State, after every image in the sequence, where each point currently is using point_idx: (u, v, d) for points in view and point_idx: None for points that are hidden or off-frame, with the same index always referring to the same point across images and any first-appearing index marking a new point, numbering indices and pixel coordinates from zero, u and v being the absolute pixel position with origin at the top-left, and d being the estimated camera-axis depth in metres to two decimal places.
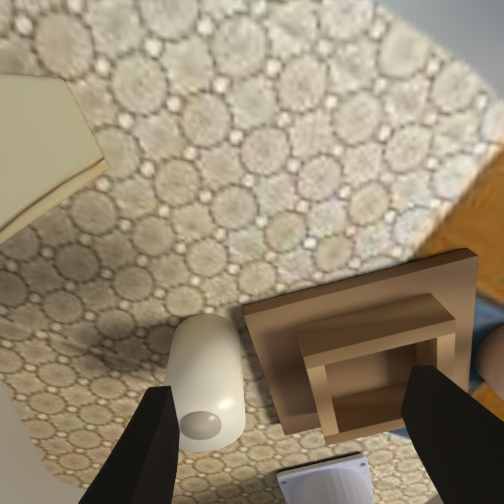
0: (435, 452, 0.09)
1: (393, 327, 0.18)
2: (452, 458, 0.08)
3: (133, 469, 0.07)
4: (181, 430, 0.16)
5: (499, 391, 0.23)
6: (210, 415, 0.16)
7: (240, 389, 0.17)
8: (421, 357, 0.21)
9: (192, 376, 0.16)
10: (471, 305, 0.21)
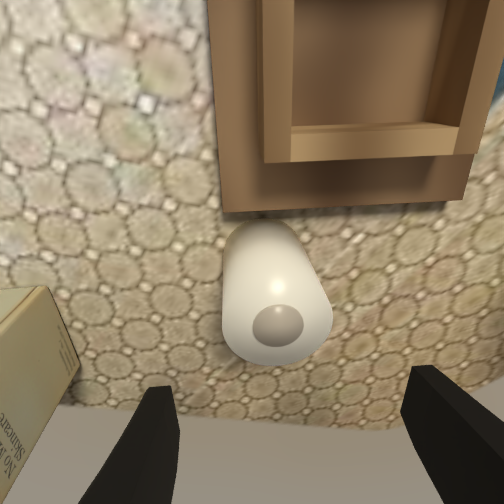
0: (435, 452, 0.09)
1: None
2: (452, 458, 0.08)
3: (133, 469, 0.07)
4: (276, 346, 0.13)
5: None
6: (262, 313, 0.13)
7: (266, 262, 0.13)
8: None
9: (222, 307, 0.14)
10: None
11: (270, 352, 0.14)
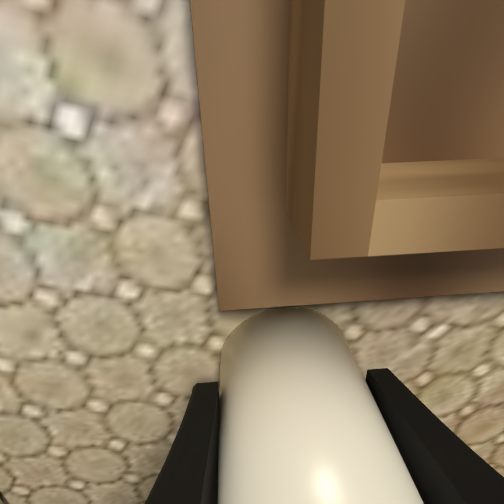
0: None
1: None
2: None
3: (198, 463, 0.07)
4: None
5: None
6: None
7: (309, 463, 0.06)
8: None
9: None
10: None
11: None
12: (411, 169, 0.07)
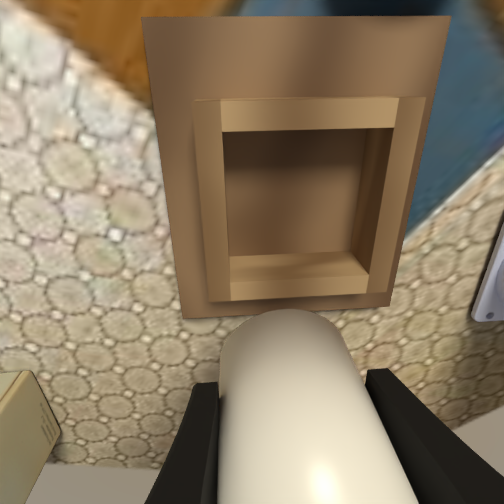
0: None
1: None
2: None
3: (197, 463, 0.07)
4: None
5: None
6: None
7: (310, 466, 0.06)
8: None
9: None
10: (239, 22, 0.12)
11: None
12: (259, 261, 0.16)
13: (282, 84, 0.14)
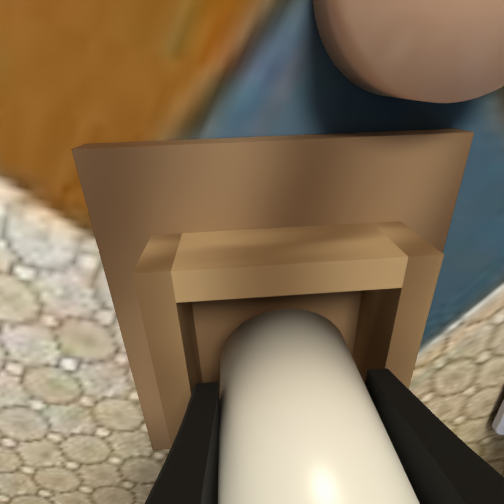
0: None
1: None
2: None
3: (197, 463, 0.07)
4: None
5: (449, 95, 0.08)
6: None
7: (312, 466, 0.06)
8: None
9: None
10: (200, 150, 0.10)
11: None
12: None
13: (259, 215, 0.11)
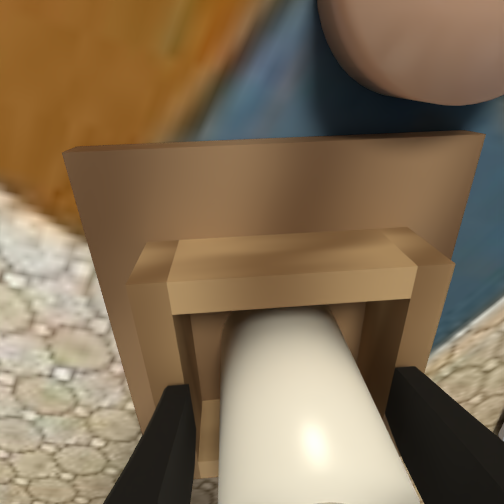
0: (417, 454, 0.09)
1: None
2: (432, 460, 0.08)
3: (158, 467, 0.07)
4: None
5: (447, 97, 0.08)
6: None
7: (301, 410, 0.07)
8: None
9: None
10: (198, 153, 0.09)
11: None
12: None
13: (259, 221, 0.10)
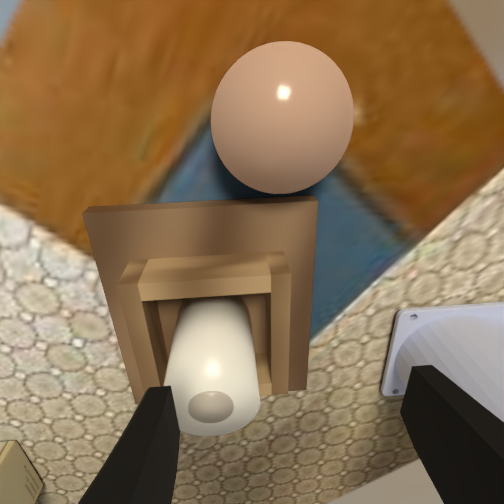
0: (435, 452, 0.09)
1: None
2: (452, 458, 0.08)
3: (133, 469, 0.07)
4: (210, 422, 0.15)
5: (253, 184, 0.15)
6: (196, 398, 0.14)
7: (203, 350, 0.15)
8: None
9: None
10: (156, 212, 0.17)
11: (205, 426, 0.15)
12: None
13: (194, 248, 0.18)
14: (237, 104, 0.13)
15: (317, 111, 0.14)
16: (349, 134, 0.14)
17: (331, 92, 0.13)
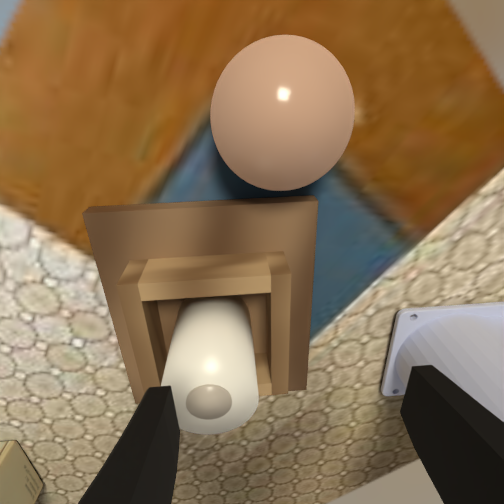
0: (435, 452, 0.09)
1: None
2: (452, 458, 0.08)
3: (133, 469, 0.07)
4: (207, 418, 0.15)
5: (236, 169, 0.14)
6: (195, 391, 0.14)
7: (204, 343, 0.15)
8: None
9: None
10: (156, 212, 0.17)
11: (201, 423, 0.15)
12: None
13: (194, 248, 0.18)
14: (245, 83, 0.13)
15: (319, 118, 0.14)
16: (342, 150, 0.14)
17: (337, 104, 0.13)
